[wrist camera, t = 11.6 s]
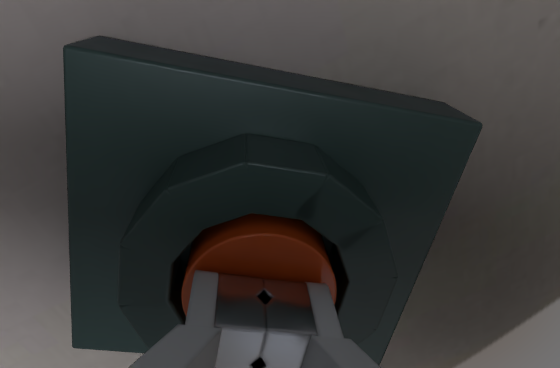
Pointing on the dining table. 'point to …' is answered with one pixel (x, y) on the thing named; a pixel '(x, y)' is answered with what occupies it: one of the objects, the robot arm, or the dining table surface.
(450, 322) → the dining table surface
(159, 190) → the button box
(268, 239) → the button
